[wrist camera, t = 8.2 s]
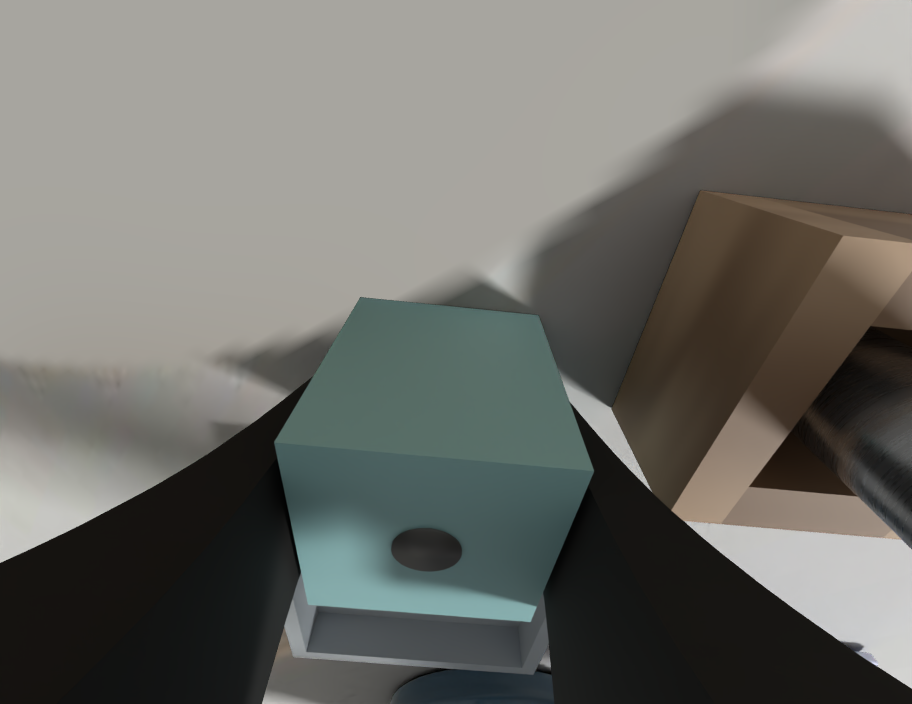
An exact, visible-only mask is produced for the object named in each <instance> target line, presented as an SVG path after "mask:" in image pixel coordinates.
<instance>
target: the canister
mask: <svg viewBox="0 0 912 704" xmlns="http://www.w3.org/2000/svg"><path fill="white" fill-rule="evenodd" d="M391 704H554V695H553V683H552V675H551V674H547V673H543V672H538V671H535V673H534V675H530V674H516V673H502V672H489V671H475V670H461V669H450V670H444V671H439V672H435V673H431V674H427V675H424V676H421V677H419V678H416V679H414V680H412V681H410V682H408V683H406V684H405V685H403V686H402V687H401V688H399V689H398V690H397V691H396V692H395V694H394V695H393V697H392V699H391Z"/></svg>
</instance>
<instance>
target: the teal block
mask: <svg viewBox="0 0 912 704" xmlns="http://www.w3.org/2000/svg"><path fill="white" fill-rule="evenodd" d="M274 444H275V449H276V454H277V459H278V463H279V468H280V473H281V478H282V483H283V487H284V492H285V497H286V502H287V506H288V511H289V516H290V521H291V526H292V530H293V535H294V540H295V545H296V549H297V554H298V559H299V564H300V569H301V573H302V578H303V583H304V588H305V593H306V597H307V602H308V605H317V606H330V607H343V608H356V609H369V610H382V611H395V612H408V613H421V614H434V615H446V616H459V617H472V618H485V619H498V620H511V621H524V622H531V620H532V617H533V615H534V612H535V610H536V608H537V605H538V603H539V601H540V598H541V596H542V594H543V591H544V589H545V586H546V584H547V582H548V579H549V577H550V575H551V572H552V570H553V567H554V565H555V563H556V560H557V558H558V556H559V553H560V551H561V549H562V546H563V544H564V541H565V539H566V537H567V534H568V532H569V530H570V527H571V525H572V522H573V520H574V518H575V515H576V513H577V511H578V508H579V506H580V504H581V501H582V499H583V496H584V494H585V492H586V489H587V487H588V485H589V482H590V480H591V477H592V475H593V473H594V469H593V467H592V464H591V461H590V458H589V455H588V453H587V450H586V447H585V444H584V441H583V438H582V436H581V433H580V430H579V427H578V424H577V422H576V419H575V416H574V413H573V410H572V408H571V405H570V402H569V399H568V396H567V394H566V391H565V388H564V385H563V382H562V380H561V377H560V374H559V371H558V368H557V366H556V363H555V360H554V357H553V354H552V352H551V349H550V346H549V343H548V340H547V338H546V335H545V332H544V329H543V326H542V324H541V321H540V318H539V315H531V314H521V313H512V312H502V311H492V310H482V309H472V308H462V307H453V306H443V305H433V304H423V303H413V302H403V301H393V300H383V299H373V298H364V297H360V299H359V300H358V302H357V304H356V305H355V307H354V309H353V310H352V312H351V314H350V316H349V317H348V319H347V321H346V322H345V324H344V326H343V327H342V329H341V331H340V332H339V334H338V336H337V337H336V339H335V341H334V342H333V344H332V346H331V348H330V349H329V351H328V353H327V354H326V356H325V358H324V359H323V361H322V363H321V364H320V366H319V368H318V369H317V371H316V373H315V374H314V376H313V378H312V380H311V381H310V383H309V385H308V386H307V388H306V390H305V391H304V393H303V395H302V396H301V398H300V400H299V401H298V403H297V405H296V406H295V408H294V410H293V412H292V413H291V415H290V417H289V418H288V420H287V422H286V423H285V425H284V427H283V428H282V430H281V432H280V433H279V435H278V437H277V438H276V440H275V442H274Z"/></svg>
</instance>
